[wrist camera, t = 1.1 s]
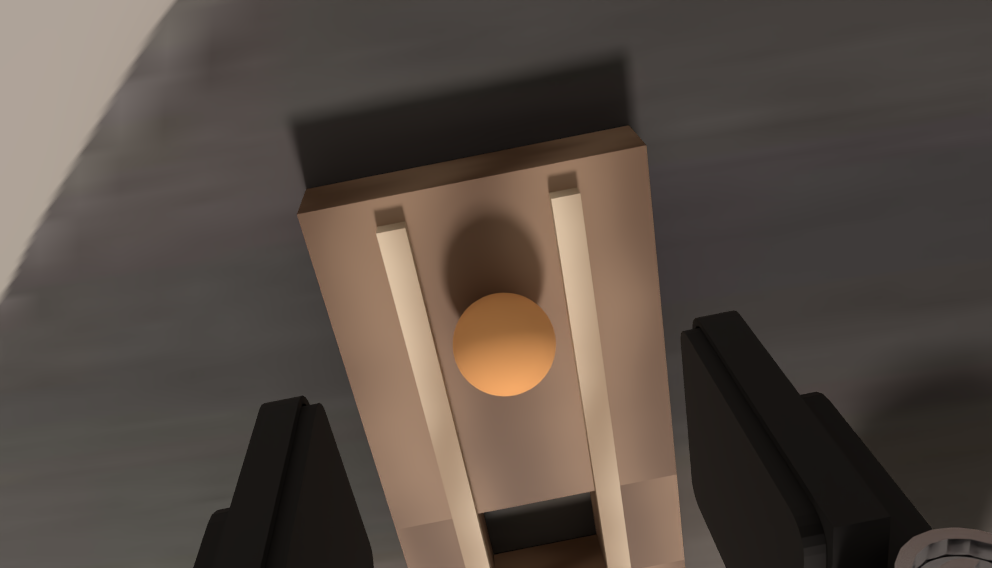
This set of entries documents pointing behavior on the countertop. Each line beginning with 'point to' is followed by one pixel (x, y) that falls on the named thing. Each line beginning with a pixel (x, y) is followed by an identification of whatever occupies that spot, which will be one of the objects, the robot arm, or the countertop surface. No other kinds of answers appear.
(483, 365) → the ball
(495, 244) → the runway
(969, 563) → the robot arm
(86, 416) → the countertop surface
